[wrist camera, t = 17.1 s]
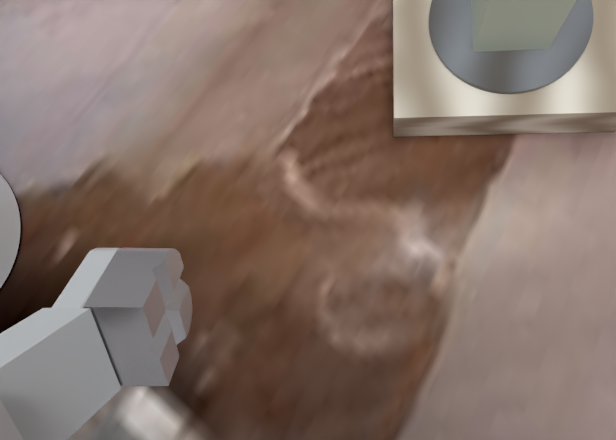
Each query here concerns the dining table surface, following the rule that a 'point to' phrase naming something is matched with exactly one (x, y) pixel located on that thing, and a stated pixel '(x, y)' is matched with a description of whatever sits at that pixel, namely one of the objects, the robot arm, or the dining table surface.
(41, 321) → the robot arm
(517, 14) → the sage block
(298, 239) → the dining table surface
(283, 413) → the dining table surface
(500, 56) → the birch base
